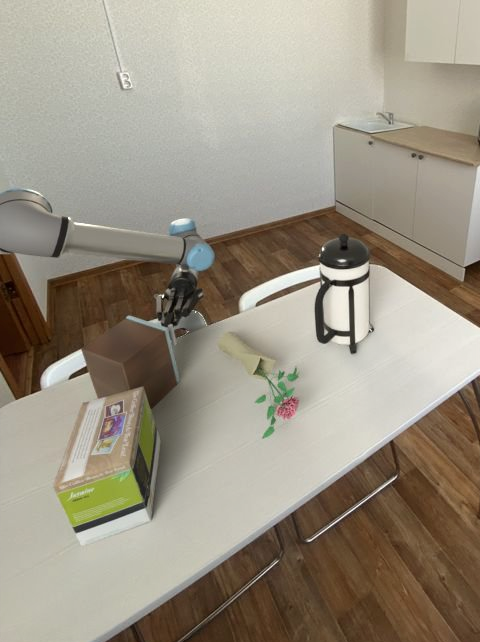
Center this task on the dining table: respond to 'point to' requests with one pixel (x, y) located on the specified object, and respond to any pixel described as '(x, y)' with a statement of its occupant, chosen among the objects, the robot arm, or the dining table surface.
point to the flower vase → (262, 376)
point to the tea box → (110, 466)
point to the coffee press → (343, 292)
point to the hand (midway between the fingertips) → (165, 333)
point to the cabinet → (130, 361)
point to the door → (172, 335)
